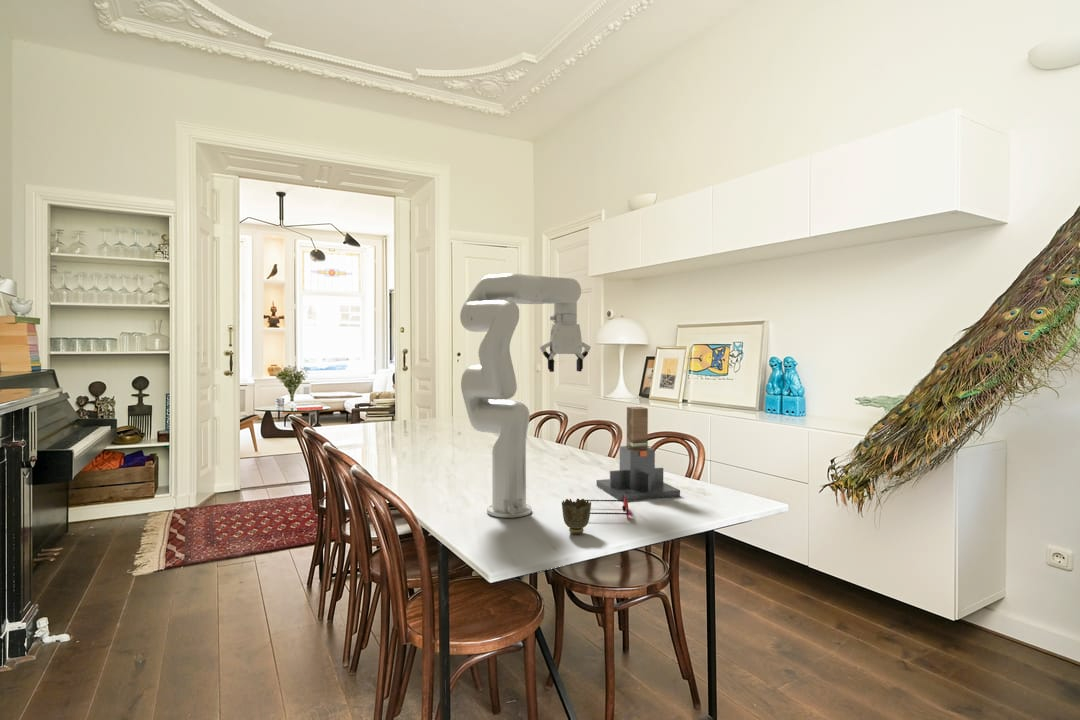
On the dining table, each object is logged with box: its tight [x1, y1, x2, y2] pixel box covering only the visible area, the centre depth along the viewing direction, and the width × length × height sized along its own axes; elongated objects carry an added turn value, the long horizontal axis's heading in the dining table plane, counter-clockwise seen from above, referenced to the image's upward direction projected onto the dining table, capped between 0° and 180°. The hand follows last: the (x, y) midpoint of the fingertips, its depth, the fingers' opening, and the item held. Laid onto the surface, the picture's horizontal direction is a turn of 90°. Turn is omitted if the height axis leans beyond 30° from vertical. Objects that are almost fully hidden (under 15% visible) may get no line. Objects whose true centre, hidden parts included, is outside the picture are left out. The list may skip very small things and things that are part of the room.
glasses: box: [584, 494, 632, 520], centre depth 168 cm, size 14×16×5 cm
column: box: [626, 406, 649, 450], centre depth 193 cm, size 5×5×19 cm
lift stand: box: [596, 445, 681, 502], centre depth 194 cm, size 20×20×14 cm
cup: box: [561, 498, 592, 536], centre depth 151 cm, size 8×7×8 cm
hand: (565, 371), depth 200 cm, fingers open, 9 cm apart
